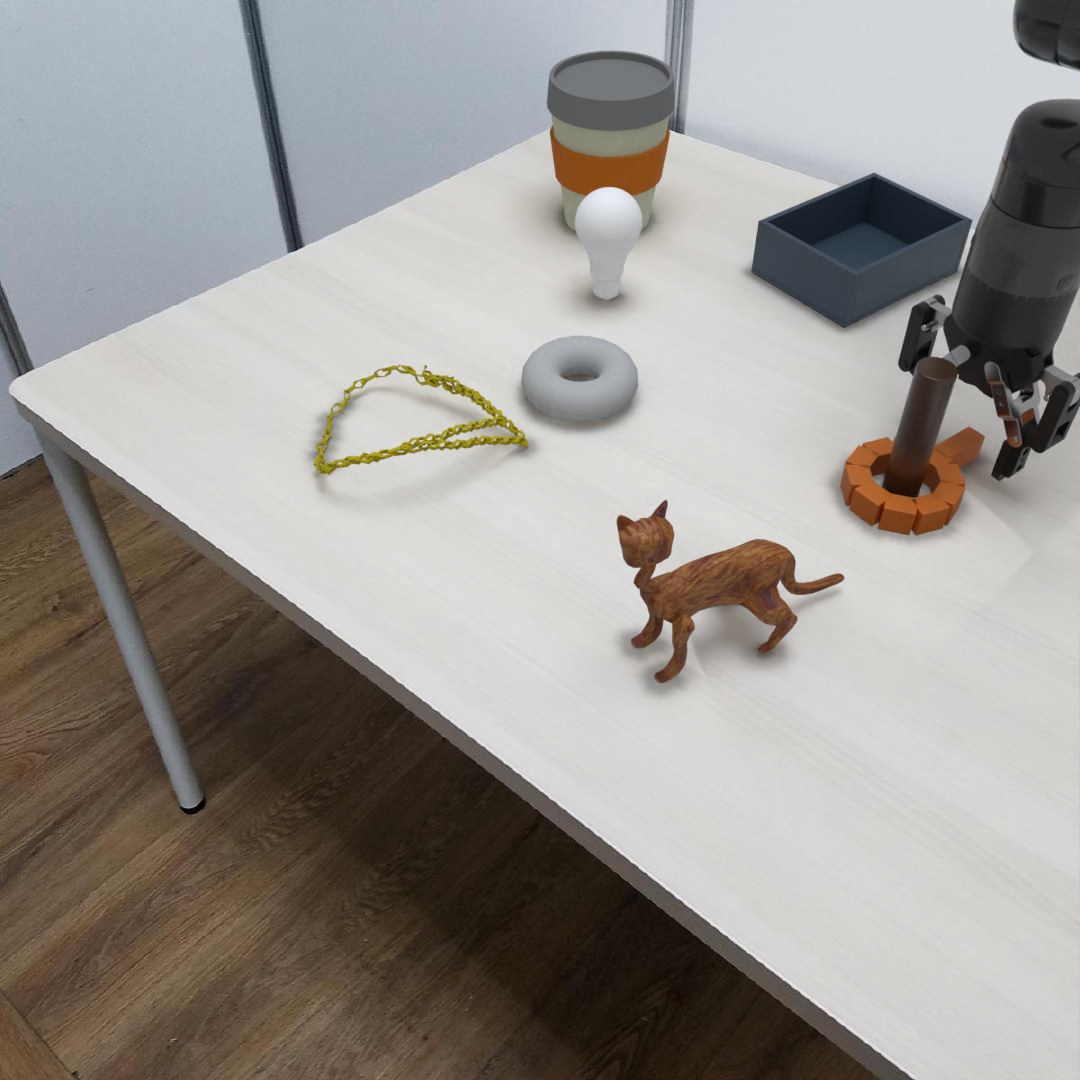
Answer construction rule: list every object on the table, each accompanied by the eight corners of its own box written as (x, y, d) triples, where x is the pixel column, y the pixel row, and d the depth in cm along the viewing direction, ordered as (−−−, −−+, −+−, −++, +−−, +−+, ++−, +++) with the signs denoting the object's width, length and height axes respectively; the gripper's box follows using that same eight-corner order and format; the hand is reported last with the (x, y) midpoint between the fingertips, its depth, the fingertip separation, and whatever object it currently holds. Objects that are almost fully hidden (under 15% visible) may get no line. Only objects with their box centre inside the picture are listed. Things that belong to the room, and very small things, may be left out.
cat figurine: (814, 557, 78) (850, 409, 68) (869, 620, 74) (916, 471, 64) (593, 639, 73) (597, 490, 63) (638, 710, 68) (651, 563, 59)
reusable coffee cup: (523, 217, 114) (519, 74, 103) (606, 178, 120) (610, 39, 109) (607, 261, 107) (612, 114, 96) (690, 218, 113) (704, 74, 102)
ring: (906, 552, 78) (913, 530, 77) (817, 486, 83) (822, 465, 82) (1016, 481, 83) (1024, 460, 82) (926, 424, 88) (932, 403, 87)
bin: (863, 221, 112) (874, 172, 108) (957, 271, 105) (973, 219, 101) (751, 271, 105) (758, 220, 102) (843, 327, 98) (855, 275, 95)
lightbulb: (561, 303, 102) (561, 195, 94) (596, 274, 105) (599, 168, 98) (616, 323, 99) (620, 214, 92) (649, 293, 103) (657, 186, 95)
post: (907, 480, 84) (946, 353, 75) (923, 504, 82) (965, 377, 73) (873, 486, 83) (909, 359, 75) (889, 510, 81) (927, 382, 73)
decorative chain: (532, 445, 87) (532, 396, 84) (398, 530, 79) (392, 479, 76) (396, 381, 96) (391, 334, 93) (261, 451, 87) (251, 402, 84)
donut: (644, 367, 95) (534, 353, 96) (647, 335, 92) (534, 321, 94) (628, 438, 88) (509, 422, 89) (630, 405, 85) (509, 389, 87)
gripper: (1153, 291, 70) (1068, 478, 82) (974, 206, 78) (920, 387, 90) (1084, 330, 67) (1006, 519, 79) (905, 238, 75) (859, 420, 87)
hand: (960, 448), depth 84 cm, fingers open, 7 cm apart
